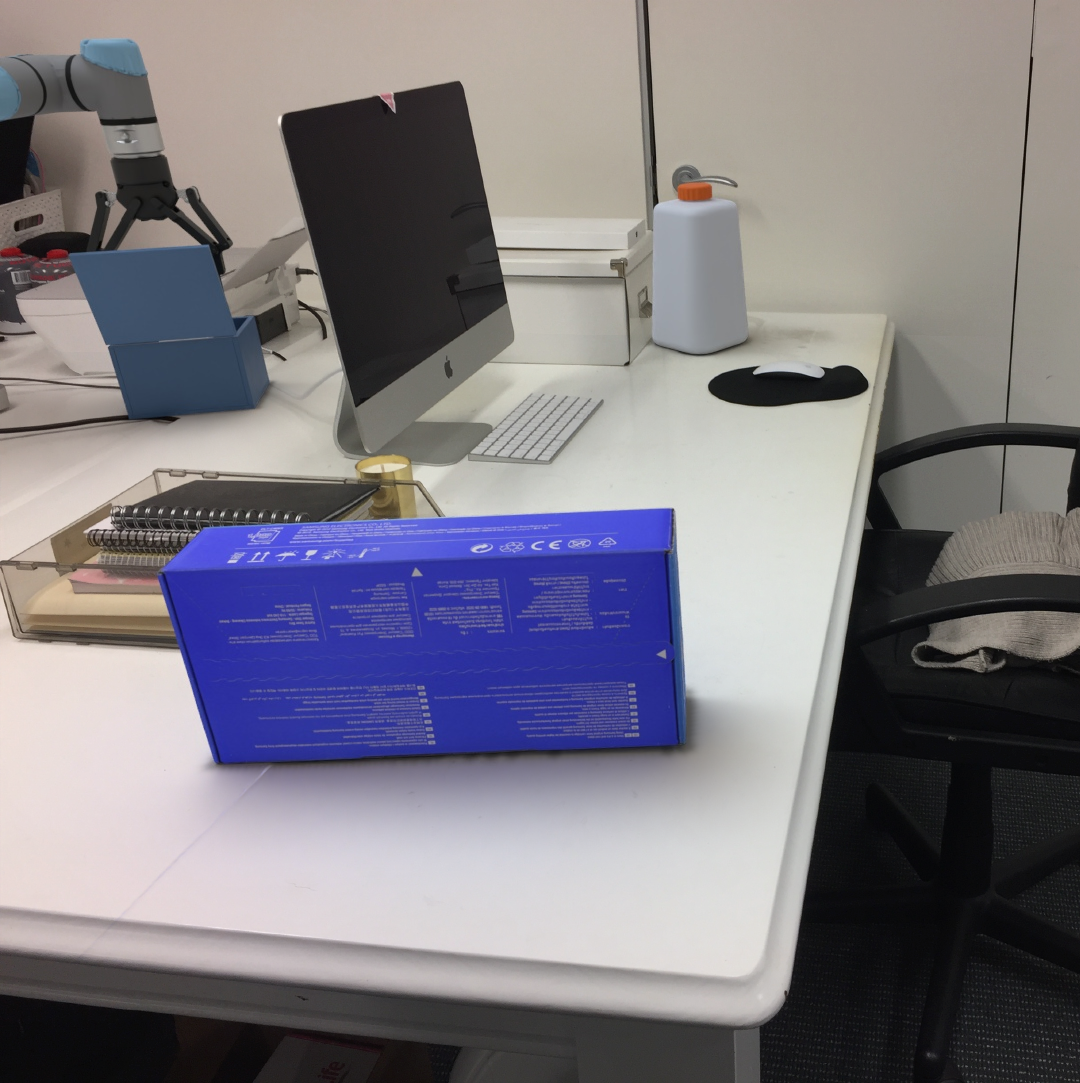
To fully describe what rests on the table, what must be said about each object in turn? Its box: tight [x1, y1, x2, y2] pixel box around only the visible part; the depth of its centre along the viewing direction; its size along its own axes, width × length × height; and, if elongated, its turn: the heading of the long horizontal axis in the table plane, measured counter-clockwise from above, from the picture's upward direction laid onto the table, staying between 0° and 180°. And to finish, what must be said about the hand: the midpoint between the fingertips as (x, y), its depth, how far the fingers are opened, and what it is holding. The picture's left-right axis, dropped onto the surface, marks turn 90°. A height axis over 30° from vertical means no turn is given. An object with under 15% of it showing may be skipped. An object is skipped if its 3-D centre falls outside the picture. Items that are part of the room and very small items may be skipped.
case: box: [107, 315, 271, 420], centre depth 167 cm, size 14×19×12 cm
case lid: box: [68, 244, 237, 346], centre depth 153 cm, size 14×19×1 cm
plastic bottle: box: [651, 182, 749, 355], centre depth 186 cm, size 15×15×28 cm
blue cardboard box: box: [156, 506, 687, 765], centre depth 85 cm, size 39×8×18 cm, turn 91°
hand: (174, 298), depth 162 cm, fingers open, 13 cm apart
